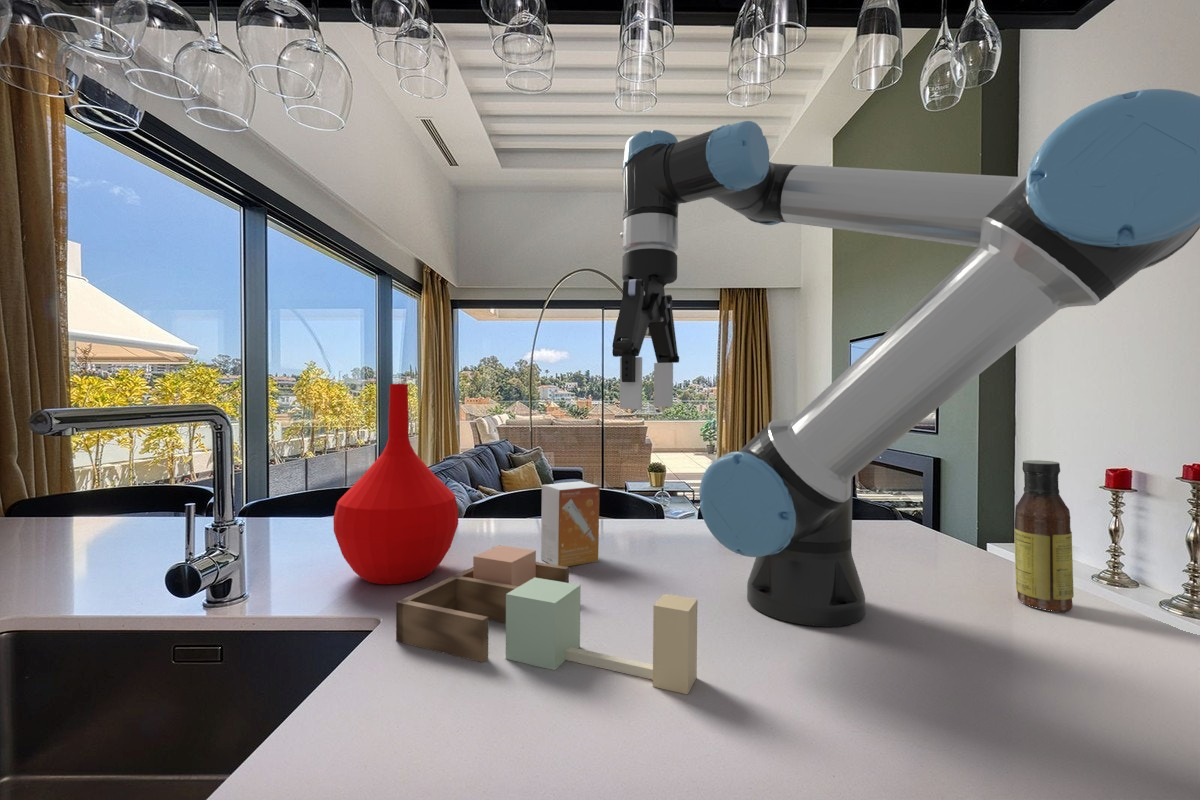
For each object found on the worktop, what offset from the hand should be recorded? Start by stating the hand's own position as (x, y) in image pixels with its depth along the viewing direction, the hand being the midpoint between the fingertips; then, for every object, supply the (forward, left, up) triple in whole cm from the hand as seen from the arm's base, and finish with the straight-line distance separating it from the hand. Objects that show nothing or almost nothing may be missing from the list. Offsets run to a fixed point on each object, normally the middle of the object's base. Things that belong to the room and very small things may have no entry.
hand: (648, 408), depth 77 cm
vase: (+39, +6, -27) cm, 48 cm away
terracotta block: (+17, +9, -27) cm, 33 cm away
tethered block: (-2, +19, -27) cm, 33 cm away
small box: (+18, -12, -27) cm, 35 cm away
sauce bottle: (-50, -22, -27) cm, 61 cm away
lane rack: (+16, +14, -27) cm, 34 cm away
